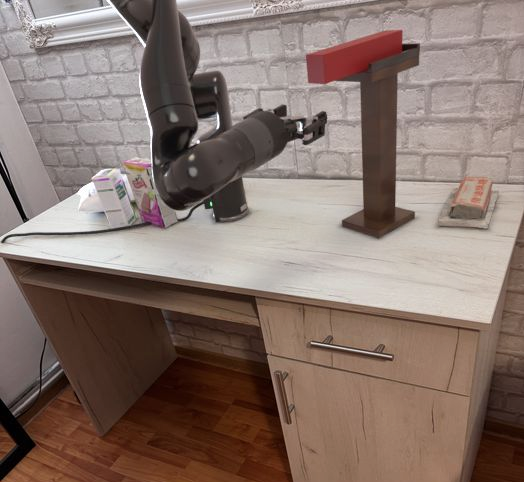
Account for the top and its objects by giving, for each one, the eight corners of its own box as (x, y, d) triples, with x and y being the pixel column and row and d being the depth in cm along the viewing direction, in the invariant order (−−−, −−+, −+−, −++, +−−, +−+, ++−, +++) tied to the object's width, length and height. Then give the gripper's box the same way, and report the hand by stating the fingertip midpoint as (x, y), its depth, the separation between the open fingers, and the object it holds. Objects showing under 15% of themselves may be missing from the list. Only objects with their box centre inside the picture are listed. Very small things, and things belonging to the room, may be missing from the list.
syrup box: (129, 227, 130) (110, 174, 121) (110, 229, 132) (90, 176, 123) (137, 218, 135) (119, 167, 126) (118, 220, 136) (100, 169, 127)
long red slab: (325, 84, 82) (323, 54, 79) (308, 83, 84) (305, 54, 82) (402, 57, 90) (402, 29, 87) (383, 57, 93) (384, 30, 90)
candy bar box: (140, 222, 132) (121, 162, 122) (155, 215, 135) (136, 155, 125) (164, 229, 125) (145, 166, 115) (179, 221, 128) (162, 159, 118)
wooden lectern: (375, 240, 102) (373, 59, 81) (338, 228, 110) (328, 59, 89) (414, 218, 108) (422, 42, 87) (377, 208, 115) (376, 44, 94)
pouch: (135, 163, 150) (71, 177, 147) (143, 182, 136) (72, 198, 132) (142, 188, 155) (80, 202, 152) (150, 209, 141) (82, 225, 137)
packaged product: (454, 174, 111) (501, 174, 107) (452, 194, 114) (498, 195, 110) (439, 205, 100) (491, 207, 95) (437, 227, 103) (487, 230, 98)
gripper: (289, 125, 73) (340, 96, 82) (217, 112, 79) (272, 86, 89) (290, 173, 78) (337, 140, 88) (222, 157, 85) (273, 128, 94)
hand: (304, 113), depth 88 cm, fingers open, 8 cm apart
